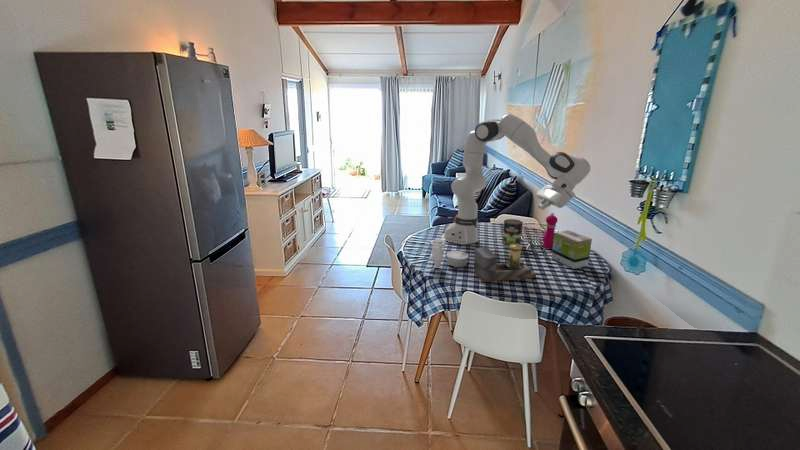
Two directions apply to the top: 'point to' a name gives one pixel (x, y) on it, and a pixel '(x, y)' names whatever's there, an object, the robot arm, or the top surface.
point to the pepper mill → (549, 231)
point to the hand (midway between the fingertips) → (540, 208)
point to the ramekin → (457, 258)
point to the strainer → (438, 252)
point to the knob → (514, 257)
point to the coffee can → (512, 232)
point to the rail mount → (497, 268)
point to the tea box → (571, 249)
